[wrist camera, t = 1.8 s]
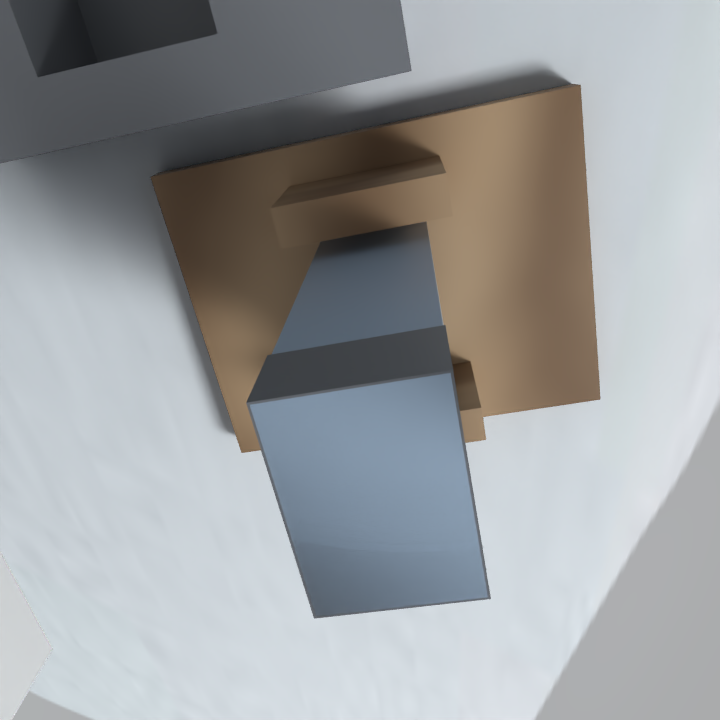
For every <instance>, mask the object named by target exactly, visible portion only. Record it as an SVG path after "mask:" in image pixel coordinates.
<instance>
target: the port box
mask: <svg viewBox="0 0 720 720" xmlns="http://www.w3.org/2000/svg"><path fill="white" fill-rule="evenodd" d="M409 71H411V65H410V58H409V52H408V46H407V40H406V33H405V27H404V21H403V15H402V8H401V2H400V0H0V163H4V162H8V161H13V160H17V159H22V158H26V157H30V156H35V155H39V154H44V153H48V152H53V151H57V150H62V149H66V148H71V147H75V146H80V145H84V144H88V143H93V142H97V141H102V140H106V139H111V138H115V137H120V136H124V135H129V134H133V133H137V132H142V131H146V130H151V129H155V128H160V127H164V126H169V125H173V124H178V123H182V122H186V121H191V120H195V119H200V118H204V117H209V116H213V115H218V114H222V113H227V112H231V111H235V110H240V109H244V108H249V107H253V106H258V105H262V104H267V103H271V102H276V101H280V100H284V99H289V98H293V97H298V96H302V95H307V94H311V93H316V92H320V91H325V90H329V89H333V88H338V87H342V86H347V85H351V84H356V83H360V82H365V81H369V80H374V79H378V78H383V77H387V76H391V75H396V74H400V73H405V72H409Z"/></svg>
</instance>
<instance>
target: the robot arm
mask: <svg viewBox="0 0 720 720" xmlns="http://www.w3.org/2000/svg"><path fill="white" fill-rule="evenodd" d="M52 650H53V648H52V646H51V644H50V643H49V641H48V639H47V637H46V635H45V633H44V631H43V630H42V628H41V626H40V624H39V622H38V620H37V618H36V617H35V615H34V613H33V611H32V609H31V607H30V605H29V604H28V602H27V600H26V598H25V596H24V594H23V592H22V591H21V589H20V587H19V585H18V583H17V581H16V579H15V578H14V576H13V574H12V572H11V570H10V568H9V566H8V565H7V563H6V561H5V559H4V557H3V555H2V554H1V552H0V720H12V719H13V717H14V715H15V714H16V712H17V710H18V708H19V707H20V705H21V703H22V702H23V700H24V698H25V696H26V695H27V693H28V691H29V690H30V688H31V686H32V685H33V683H34V681H35V679H36V678H37V676H38V674H39V673H40V671H41V669H42V667H43V666H44V664H45V662H46V661H47V659H48V657H49V655H50V654H51V652H52Z"/></svg>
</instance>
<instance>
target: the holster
mask: <svg viewBox="0 0 720 720" xmlns="http://www.w3.org/2000/svg"><path fill="white" fill-rule="evenodd" d="M151 180H152V183H153V186H154V189H155V192H156V195H157V198H158V202H159V205H160V208H161V211H162V214H163V217H164V220H165V223H166V226H167V229H168V232H169V235H170V238H171V241H172V244H173V247H174V250H175V253H176V256H177V259H178V262H179V265H180V268H181V271H182V274H183V277H184V280H185V283H186V286H187V289H188V292H189V295H190V298H191V301H192V304H193V307H194V310H195V313H196V316H197V319H198V322H199V325H200V328H201V331H202V335H203V338H204V341H205V344H206V347H207V350H208V353H209V356H210V359H211V362H212V365H213V368H214V371H215V374H216V377H217V380H218V383H219V386H220V389H221V392H222V395H223V398H224V401H225V404H226V407H227V410H228V413H229V416H230V419H231V422H232V425H233V428H234V431H235V434H236V437H237V440H238V443H239V446H240V449H241V452H242V453H244V452H251V451H258V450H261V448H260V445H259V442H258V439H257V436H256V433H255V429H254V426H253V423H252V420H251V417H250V414H249V410H248V407H247V404H246V402H247V400H248V397H249V395H250V393H251V391H252V389H253V386H254V384H255V382H256V380H257V377H258V375H259V373H260V371H261V368H262V366H263V364H264V362H265V359H266V357H267V355H271V354H272V352H273V350H274V348H275V345H276V343H277V341H278V338H279V336H280V334H281V332H282V329H283V327H284V325H285V322H286V320H287V318H288V316H289V313H290V311H291V309H292V306H293V304H294V302H295V299H296V297H297V295H298V293H299V290H300V288H301V286H302V283H303V281H304V279H305V276H306V274H307V272H308V270H309V267H310V265H311V263H312V260H313V258H314V256H315V253H316V251H317V249H318V247H319V244H320V242H321V241H327V240H332V239H337V238H342V237H347V236H353V235H358V234H363V233H368V232H374V231H379V230H384V229H389V228H394V227H400V226H405V225H410V224H415V223H420V222H427V228H428V234H429V240H430V246H431V252H432V258H433V264H434V270H435V276H436V282H437V288H438V294H439V300H440V306H441V312H442V318H443V324H444V325H446V331H447V337H448V343H449V348H450V354H451V360H452V366H453V372H454V378H455V384H456V390H457V396H458V403H459V409H460V415H461V421H462V427H463V433H464V439H465V443H467V442H474V441H481V440H486V436H485V429H484V422H483V417H486V416H492V415H499V414H506V413H512V412H519V411H526V410H533V409H539V408H546V407H553V406H559V405H566V404H573V403H579V402H586V401H593V400H600V386H599V370H598V354H597V338H596V322H595V307H594V291H593V275H592V259H591V243H590V227H589V211H588V196H587V180H586V164H585V148H584V132H583V116H582V100H581V85H577V84H570V85H565V86H560V87H556V88H551V89H546V90H542V91H537V92H532V93H528V94H523V95H518V96H514V97H509V98H504V99H500V100H495V101H490V102H486V103H481V104H476V105H472V106H467V107H462V108H458V109H453V110H448V111H444V112H439V113H434V114H430V115H425V116H420V117H416V118H411V119H406V120H402V121H397V122H392V123H388V124H383V125H378V126H374V127H369V128H364V129H360V130H355V131H350V132H346V133H341V134H336V135H332V136H327V137H322V138H318V139H313V140H308V141H304V142H299V143H294V144H290V145H285V146H280V147H276V148H271V149H266V150H262V151H257V152H253V153H248V154H243V155H239V156H234V157H229V158H225V159H220V160H215V161H211V162H206V163H201V164H197V165H192V166H187V167H183V168H178V169H173V170H169V171H164V172H160V173H158V174H156V175H154V176H151Z"/></svg>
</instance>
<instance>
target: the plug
mask: <svg viewBox="0 0 720 720" xmlns="http://www.w3.org/2000/svg"><path fill="white" fill-rule="evenodd" d="M246 404H247V407H248V410H249V414H250V417H251V420H252V423H253V426H254V429H255V433H256V436H257V439H258V442H259V445H260V448H261V452H262V455H263V458H264V461H265V464H266V467H267V471H268V474H269V477H270V480H271V483H272V486H273V490H274V493H275V496H276V499H277V502H278V505H279V509H280V512H281V515H282V518H283V521H284V524H285V528H286V531H287V534H288V537H289V540H290V543H291V547H292V550H293V553H294V556H295V559H296V562H297V566H298V569H299V572H300V575H301V578H302V581H303V585H304V588H305V591H306V594H307V597H308V600H309V604H310V607H311V610H312V613H313V616H314V618H323V617H332V616H341V615H350V614H359V613H368V612H377V611H386V610H395V609H404V608H413V607H422V606H431V605H440V604H449V603H458V602H467V601H476V600H485V599H491V597H490V591H489V585H488V579H487V573H486V567H485V561H484V555H483V549H482V543H481V536H480V530H479V524H478V518H477V512H476V506H475V500H474V494H473V488H472V482H471V476H470V469H469V463H468V457H467V451H466V445H465V439H464V433H463V427H462V421H461V415H460V409H459V403H458V396H457V390H456V384H455V378H454V372H453V366H452V360H451V354H450V348H449V343H448V337H447V331H446V325H444V324H443V318H442V312H441V306H440V300H439V294H438V288H437V282H436V276H435V270H434V264H433V258H432V252H431V246H430V240H429V234H428V228H427V222H420V223H415V224H410V225H405V226H400V227H394V228H389V229H384V230H379V231H374V232H368V233H363V234H358V235H353V236H347V237H342V238H337V239H332V240H327V241H321V242H320V244H319V247H318V249H317V251H316V253H315V256H314V258H313V260H312V263H311V265H310V267H309V270H308V272H307V274H306V276H305V279H304V281H303V283H302V286H301V288H300V290H299V293H298V295H297V297H296V299H295V302H294V304H293V306H292V309H291V311H290V313H289V316H288V318H287V320H286V322H285V325H284V327H283V329H282V332H281V334H280V336H279V338H278V341H277V343H276V345H275V348H274V350H273V352H272V354H271V355H267V357H266V359H265V362H264V364H263V366H262V368H261V371H260V373H259V375H258V377H257V380H256V382H255V384H254V386H253V389H252V391H251V393H250V395H249V397H248V400H247V402H246Z"/></svg>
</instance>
